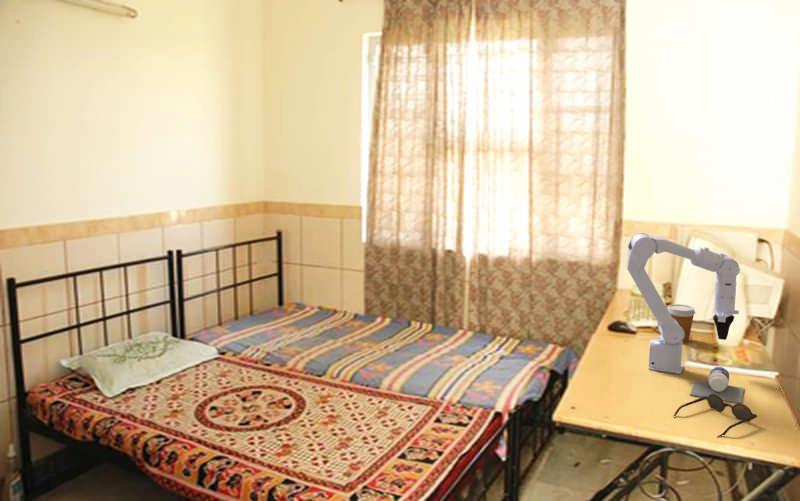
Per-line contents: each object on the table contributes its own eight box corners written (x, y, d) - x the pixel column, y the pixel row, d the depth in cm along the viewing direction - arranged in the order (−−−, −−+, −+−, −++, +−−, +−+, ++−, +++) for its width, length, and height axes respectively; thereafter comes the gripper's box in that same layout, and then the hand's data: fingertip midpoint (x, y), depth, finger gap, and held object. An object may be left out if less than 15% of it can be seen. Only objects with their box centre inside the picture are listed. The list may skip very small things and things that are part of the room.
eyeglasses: (756, 426, 169) (757, 407, 168) (720, 440, 162) (721, 421, 161) (704, 406, 181) (705, 389, 180) (668, 419, 174) (669, 401, 173)
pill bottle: (731, 381, 194) (730, 392, 186) (712, 384, 196) (711, 395, 188) (726, 364, 193) (724, 374, 186) (707, 367, 196) (705, 377, 188)
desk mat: (690, 395, 188) (690, 394, 188) (694, 381, 198) (695, 380, 198) (741, 404, 181) (741, 402, 181) (743, 389, 192) (743, 387, 192)
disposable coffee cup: (697, 344, 232) (700, 310, 230) (670, 344, 232) (672, 311, 230) (686, 335, 241) (688, 303, 239) (660, 336, 242) (662, 304, 239)
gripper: (737, 302, 194) (735, 347, 196) (741, 292, 206) (738, 334, 208) (711, 300, 197) (708, 344, 200) (716, 289, 209) (714, 331, 212)
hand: (722, 338), depth 204 cm, fingers closed
